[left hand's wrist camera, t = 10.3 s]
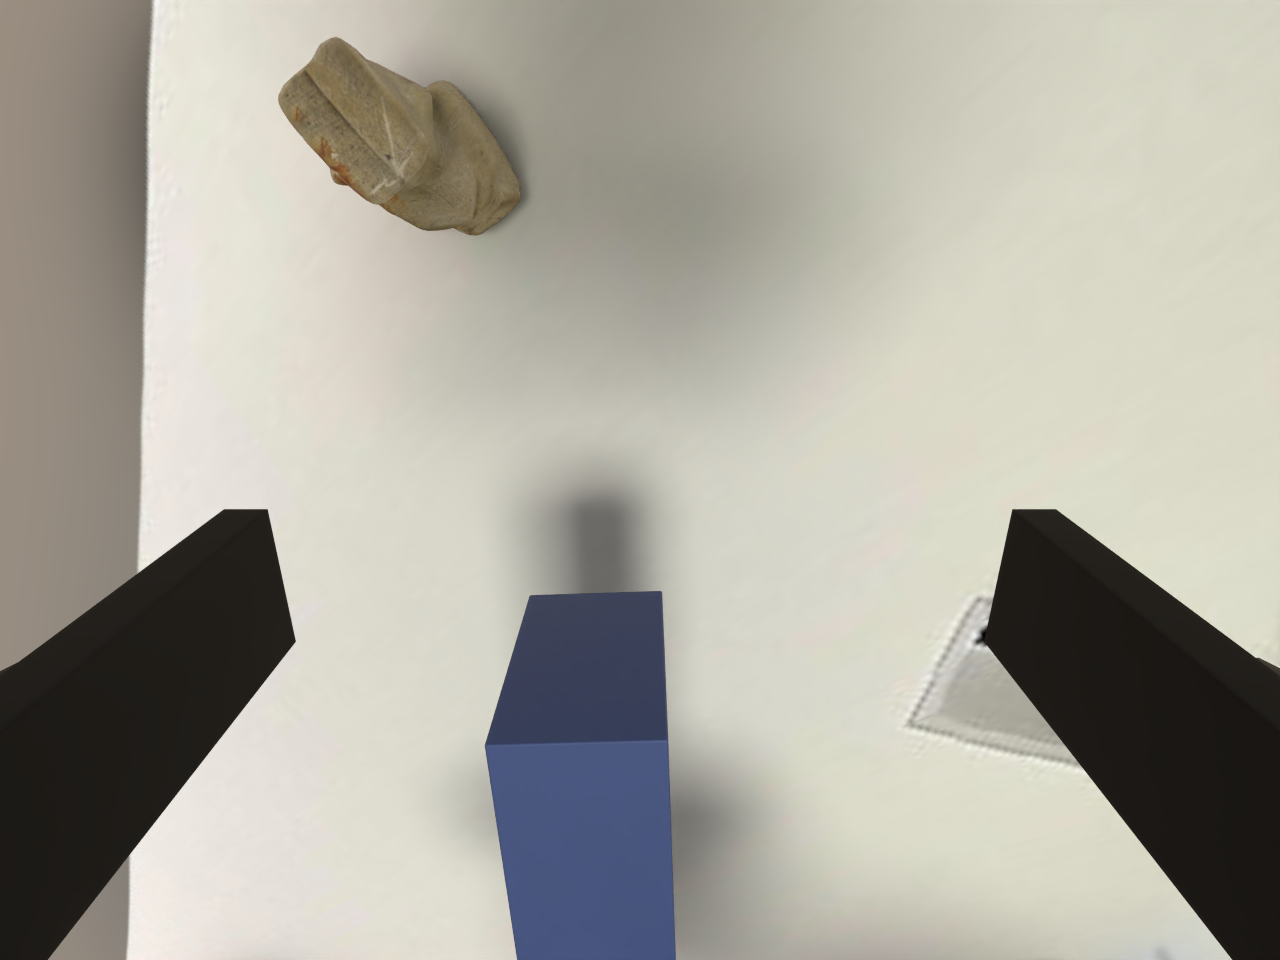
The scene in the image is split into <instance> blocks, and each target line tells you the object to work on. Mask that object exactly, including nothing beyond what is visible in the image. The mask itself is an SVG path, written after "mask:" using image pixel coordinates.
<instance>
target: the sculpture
mask: <svg viewBox="0 0 1280 960" xmlns="http://www.w3.org/2000/svg"><path fill="white" fill-rule="evenodd" d="M278 101H279V105H280V107H281V109H282V111H283V112H284V114H285V116H286V117H287V119H288V120H289V122H290V123H291V124H292V125H293V127H294V128H295V129H296V130H297V132H298V133H299V134H300V135H301V136H302V137H303V139H304V140H305V141H306V142H307V144H308V145H309V146H310V147H311V148H312V149H313V150H314V151H315V152H316V153H317V154H318V155H319V156H320V157H321V158H322V160H323V161H324V162H325V163H326V164H327V165H328V166H329V168H330V171H331V176H332V179H333V181H334V182H335V183H337V184H339V185H347V186H349V187H351V188H352V189H353V190H354V191H355V192H357V193H358V194H359V195H360V196H361V197H363V198H364V199H366V200H367V201H369V202H371V203H373V204H379V205H380V206H381V207H383V208H384V209H385V210H386V211H388V212H390V213H391V214H393V215H396V216H398V217H400V218H402V219H403V220H405V221H407V222H409V223H410V224H412V225H414V226H416V227H418V228H420V229H423V230H427V231H435V230H445V229H450V228H455V229H457V230H459V231H461V232H463V233H465V234H469V235H480V234H482V233H484V232H485V231H486V230H488V229H489V228H491V227H492V226H493V225H495V224H496V223H497V222H499V221H500V220H501V219H502V218H503V217H504V216H506V215H507V214H508V213H509V212H510V211H511V210H512V209H513V208H514V207H515V206H516V205H517V204H518V202H519V200H520V191H519V190H520V188H521V185H520V182H519V181H518V179H517V177H516V176H515V174H514V173H513V170H512V168H511V166H510V164H509V162H508V160H507V158H506V156H505V154H504V153H503V151H502V149H501V148H500V146H499V145H498V143H497V141H496V140H495V138H494V137H493V135H492V134H491V132H490V131H489V129H488V128H487V127H486V125H485V124H484V122H483V121H482V120H481V118H480V117H479V115H478V114H477V113H476V112H475V110H474V109H473V108H472V106H471V105H470V104H469V103H468V101H467V100H466V99H465V98H464V96H463V95H462V94H461V93H460V92H459V91H458V90H457V88H456V87H455V86H454V85H453V84H451V83H449V82H446V81H438V82H435V83H433V84H431V85H429V86H428V87H426V88H423V87H422V86H420V85H418V84H416V83H414V82H412V81H410V80H408V79H406V78H404V77H402V76H400V75H398V74H396V73H394V72H392V71H390V70H388V69H387V68H385V67H383V66H381V65H379V64H377V63H374V62H372V61H370V60H367V59H365V58H364V57H363V56H362V55H361V54H360V53H359V52H358V51H357V50H356V49H355V48H354V47H352V46H351V45H349V44H348V43H347V42H345V41H343V40H342V39H340V38H338V37H333V38H330V39H328V40H326V41H325V42H323V43H321V44H320V46H319V47H318V49H317V51H316V53H315V55H314V57H313V58H312V60H311V61H310V62H309V63H308V64H307V65H306V66H305V67H304V68H303V69H301V70H300V71H299V72H298V73H297V74H295V75H294V76H293V77H292V78H291V79H290V80H289V81H288V82H287V83H286V84H285V85H284V86H283V88H282V89H281V91H280V93H279V97H278Z"/></svg>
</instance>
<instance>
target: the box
mask: <svg viewBox="0 0 1280 960" xmlns="http://www.w3.org/2000/svg"><path fill="white" fill-rule="evenodd" d="M485 750H486V756H487V763H488V769H489V776H490V783H491V789H492V796H493V802H494V809H495V816H496V822H497V829H498V835H499V842H500V849H501V855H502V862H503V868H504V875H505V882H506V888H507V895H508V901H509V908H510V915H511V921H512V928H513V934H514V941H515V948H516V954H517V960H676V954H675V925H674V896H673V867H672V838H671V808H670V779H669V750H668V724H667V700H666V676H665V652H664V628H663V603H662V592H661V591H649V592H618V593H587V594H557V595H531V596H530V597H529V600H528V604H527V607H526V610H525V614H524V617H523V620H522V624H521V627H520V630H519V634H518V637H517V640H516V644H515V647H514V650H513V654H512V657H511V660H510V664H509V667H508V670H507V674H506V677H505V680H504V684H503V687H502V690H501V693H500V697H499V700H498V703H497V707H496V710H495V713H494V717H493V720H492V723H491V727H490V730H489V733H488V737H487V740H486V743H485Z"/></svg>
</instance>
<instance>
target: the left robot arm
mask: <svg viewBox="0 0 1280 960" xmlns="http://www.w3.org/2000/svg"><path fill="white" fill-rule="evenodd" d="M295 642H296V640H295V636H294V631H293V626H292V622H291V617H290V612H289V608H288V603H287V598H286V594H285V589H284V584H283V579H282V575H281V570H280V565H279V561H278V556H277V551H276V547H275V542H274V537H273V533H272V528H271V523H270V519H269V514H268V509H224V510H223V511H221V512H220V513H219V514H217V515H216V516H215V517H213V518H212V519H210V520H209V521H208V522H206V523H205V524H204V525H202V526H201V527H200V528H198V529H197V530H196V531H194V532H193V533H192V534H190V535H189V536H188V537H186V538H185V539H184V540H182V541H181V542H180V543H178V544H177V545H176V546H174V547H173V548H171V549H170V550H169V551H167V552H166V553H165V554H163V555H162V556H161V557H159V558H158V559H157V560H155V561H154V562H153V563H151V564H150V565H149V566H147V567H146V568H145V569H143V570H142V571H141V572H139V573H138V574H137V575H135V576H134V577H132V578H131V579H130V580H128V581H127V582H126V583H125V584H123V585H122V586H120V587H119V588H118V589H116V590H115V591H114V592H112V593H111V594H110V595H108V596H107V597H106V598H104V599H103V600H102V601H100V602H99V603H98V604H96V605H95V606H94V607H92V608H91V609H89V610H88V611H87V612H85V613H84V614H83V615H81V616H80V617H79V618H77V619H76V620H75V621H73V622H72V623H71V624H69V625H68V626H67V627H65V628H64V629H63V630H61V631H60V632H59V633H57V634H56V635H54V636H53V637H52V638H51V639H49V640H48V641H46V642H45V643H44V644H42V645H41V646H40V647H38V648H37V649H36V650H34V651H33V652H32V653H30V654H29V655H28V656H26V657H25V658H24V659H22V660H21V661H20V662H18V663H16V664H14V665H12V666H10V667H8V668H6V669H4V670H2V671H0V960H48V959H49V957H50V956H51V955H52V953H53V952H54V951H55V950H56V948H57V947H58V946H59V945H60V943H61V942H62V941H63V939H64V938H65V937H66V936H67V934H68V933H69V932H70V930H71V929H72V928H73V927H74V925H75V924H76V923H77V921H78V920H79V919H80V918H81V916H82V915H83V914H84V912H85V911H86V910H87V909H88V907H89V906H90V905H91V904H92V902H93V901H94V900H95V898H96V897H97V896H98V894H99V893H100V892H101V891H102V889H103V888H104V887H105V886H106V884H107V883H108V882H109V880H110V879H111V878H112V877H113V875H114V874H115V873H116V871H117V870H118V869H119V868H120V866H121V865H122V864H123V862H124V861H125V860H126V859H127V857H128V856H129V855H130V853H131V852H132V851H133V850H134V848H135V847H136V846H137V845H138V843H139V842H140V841H141V839H142V838H143V837H144V836H145V834H146V833H147V832H148V830H149V829H150V828H151V827H152V825H153V824H154V823H155V821H156V820H157V819H158V818H159V816H160V815H161V814H162V812H163V811H164V810H165V809H166V807H167V806H168V805H169V803H170V802H171V801H172V800H173V798H174V797H175V796H176V795H177V793H178V792H179V791H180V789H181V788H182V787H183V786H184V784H185V783H186V782H187V780H188V779H189V778H190V777H191V775H192V774H193V773H194V771H195V770H196V769H197V768H198V766H199V765H200V764H201V762H202V761H203V760H204V759H205V757H206V756H207V755H208V753H209V752H210V751H211V750H212V748H213V747H214V746H215V744H216V743H217V742H218V741H219V739H220V738H221V737H222V736H223V734H224V733H225V732H226V730H227V729H228V728H229V727H230V725H231V724H232V723H233V721H234V720H235V719H236V718H237V716H238V715H239V714H240V712H241V711H242V710H243V709H244V707H245V706H246V705H247V703H248V702H249V701H250V700H251V698H252V697H253V696H254V694H255V693H256V692H257V691H258V689H259V688H260V687H261V685H262V684H263V683H264V682H265V680H266V679H267V678H268V677H269V675H270V674H271V673H272V671H273V670H274V669H275V668H276V666H277V665H278V664H279V662H280V661H281V660H282V659H283V657H284V656H285V655H286V653H287V652H288V651H289V650H290V648H291V647H292V646H293V644H294V643H295ZM984 642H985V643H986V644H987V646H988V647H989V648H990V650H991V651H992V652H993V653H994V655H995V656H996V657H997V659H998V660H999V661H1000V662H1001V664H1002V665H1003V666H1004V668H1005V669H1006V670H1007V671H1008V673H1009V674H1010V675H1011V677H1012V678H1013V679H1014V680H1015V682H1016V683H1017V684H1018V686H1019V687H1020V688H1021V689H1022V691H1023V692H1024V693H1025V694H1026V696H1027V697H1028V698H1029V700H1030V701H1031V702H1032V703H1033V705H1034V706H1035V707H1036V709H1037V710H1038V711H1039V712H1040V714H1041V715H1042V716H1043V718H1044V719H1045V720H1046V721H1047V723H1048V724H1049V725H1050V727H1051V728H1052V729H1053V730H1054V732H1055V733H1056V734H1057V736H1058V737H1059V738H1060V739H1061V741H1062V742H1063V743H1064V744H1065V746H1066V747H1067V748H1068V750H1069V751H1070V752H1071V753H1072V755H1073V756H1074V757H1075V759H1076V760H1077V761H1078V762H1079V764H1080V765H1081V766H1082V768H1083V769H1084V770H1085V771H1086V773H1087V774H1088V775H1089V777H1090V778H1091V779H1092V780H1093V782H1094V783H1095V784H1096V786H1097V787H1098V788H1099V789H1100V791H1101V792H1102V793H1103V795H1104V796H1105V797H1106V798H1107V800H1108V801H1109V802H1110V803H1111V805H1112V806H1113V807H1114V809H1115V810H1116V811H1117V812H1118V814H1119V815H1120V816H1121V818H1122V819H1123V820H1124V821H1125V823H1126V824H1127V825H1128V827H1129V828H1130V829H1131V830H1132V832H1133V833H1134V834H1135V836H1136V837H1137V838H1138V839H1139V841H1140V842H1141V843H1142V845H1143V846H1144V847H1145V848H1146V850H1147V851H1148V852H1149V853H1150V855H1151V856H1152V857H1153V859H1154V860H1155V861H1156V862H1157V864H1158V865H1159V866H1160V868H1161V869H1162V870H1163V871H1164V873H1165V874H1166V875H1167V877H1168V878H1169V879H1170V880H1171V882H1172V883H1173V884H1174V886H1175V887H1176V888H1177V889H1178V891H1179V892H1180V893H1181V895H1182V896H1183V897H1184V898H1185V900H1186V901H1187V902H1188V904H1189V905H1190V906H1191V907H1192V909H1193V910H1194V911H1195V912H1196V914H1197V915H1198V916H1199V918H1200V919H1201V920H1202V921H1203V923H1204V924H1205V925H1206V927H1207V928H1208V929H1209V930H1210V932H1211V933H1212V934H1213V936H1214V937H1215V938H1216V939H1217V941H1218V942H1219V943H1220V945H1221V946H1222V947H1223V948H1224V950H1225V951H1226V952H1227V954H1228V955H1229V956H1230V957H1231V959H1232V960H1280V668H1278V667H1276V666H1274V665H1272V664H1270V663H1268V662H1266V661H1264V660H1262V659H1260V658H1255V657H1254V656H1252V655H1251V654H1250V653H1248V652H1247V651H1246V650H1244V649H1243V648H1242V647H1240V646H1239V645H1238V644H1236V643H1235V642H1234V641H1232V640H1231V639H1230V638H1228V637H1227V636H1226V635H1224V634H1223V633H1221V632H1220V631H1219V630H1217V629H1216V628H1215V627H1213V626H1212V625H1211V624H1209V623H1208V622H1207V621H1205V620H1204V619H1203V618H1201V617H1200V616H1199V615H1197V614H1196V613H1195V612H1193V611H1192V610H1191V609H1189V608H1188V607H1187V606H1185V605H1184V604H1182V603H1181V602H1180V601H1178V600H1177V599H1176V598H1174V597H1173V596H1172V595H1170V594H1169V593H1168V592H1166V591H1165V590H1164V589H1162V588H1161V587H1160V586H1158V585H1157V584H1156V583H1154V582H1153V581H1152V580H1150V579H1149V578H1148V577H1146V576H1145V575H1143V574H1142V573H1141V572H1139V571H1138V570H1137V569H1135V568H1134V567H1133V566H1131V565H1130V564H1129V563H1127V562H1126V561H1125V560H1123V559H1122V558H1121V557H1119V556H1118V555H1117V554H1115V553H1114V552H1113V551H1111V550H1110V549H1109V548H1107V547H1106V546H1104V545H1103V544H1102V543H1100V542H1099V541H1098V540H1096V539H1095V538H1094V537H1092V536H1091V535H1090V534H1088V533H1087V532H1086V531H1084V530H1083V529H1082V528H1080V527H1079V526H1078V525H1076V524H1075V523H1074V522H1072V521H1071V520H1070V519H1068V518H1067V517H1065V516H1064V515H1063V514H1061V513H1060V512H1059V511H1057V510H1056V509H1012V514H1011V519H1010V523H1009V528H1008V533H1007V537H1006V542H1005V547H1004V551H1003V556H1002V561H1001V565H1000V570H999V575H998V579H997V584H996V589H995V594H994V598H993V603H992V608H991V612H990V617H989V622H988V626H987V631H986V636H985V640H984Z"/></svg>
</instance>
